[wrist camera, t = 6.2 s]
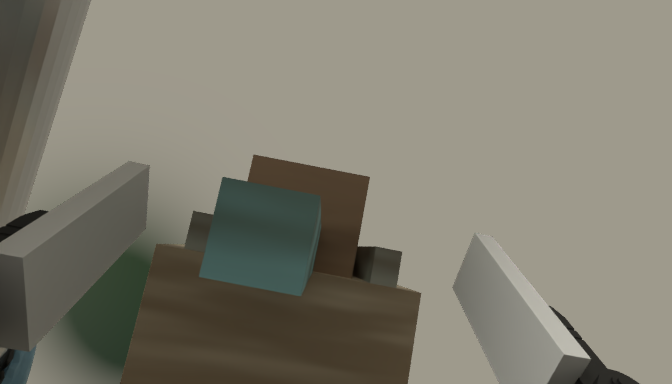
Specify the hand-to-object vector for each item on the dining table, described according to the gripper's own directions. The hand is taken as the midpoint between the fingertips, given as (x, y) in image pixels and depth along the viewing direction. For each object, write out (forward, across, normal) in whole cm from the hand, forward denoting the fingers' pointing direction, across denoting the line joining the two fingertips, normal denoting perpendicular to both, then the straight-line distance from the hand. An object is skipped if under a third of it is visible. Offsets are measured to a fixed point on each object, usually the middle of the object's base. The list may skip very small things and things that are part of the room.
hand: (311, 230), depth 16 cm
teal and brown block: (+3, -1, -4) cm, 5 cm away
